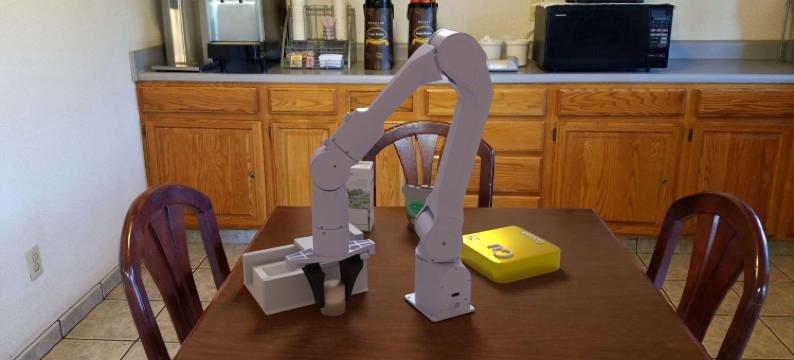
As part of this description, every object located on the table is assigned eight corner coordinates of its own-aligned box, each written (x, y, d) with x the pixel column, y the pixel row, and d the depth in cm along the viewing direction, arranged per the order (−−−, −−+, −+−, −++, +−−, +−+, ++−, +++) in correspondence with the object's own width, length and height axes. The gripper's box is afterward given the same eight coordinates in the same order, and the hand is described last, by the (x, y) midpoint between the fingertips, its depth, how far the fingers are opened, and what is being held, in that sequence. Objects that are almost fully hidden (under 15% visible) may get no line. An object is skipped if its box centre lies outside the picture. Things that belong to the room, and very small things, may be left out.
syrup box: (374, 223, 142) (373, 160, 137) (370, 232, 136) (370, 167, 132) (349, 222, 142) (347, 159, 138) (344, 231, 136) (342, 166, 132)
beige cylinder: (349, 312, 102) (348, 287, 101) (326, 318, 100) (325, 292, 99) (339, 302, 105) (338, 277, 104) (316, 307, 104) (316, 282, 102)
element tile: (564, 271, 119) (566, 247, 117) (498, 287, 112) (499, 262, 111) (514, 243, 131) (515, 222, 130) (453, 257, 125) (453, 234, 123)
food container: (394, 231, 137) (394, 187, 134) (402, 222, 142) (402, 179, 140) (450, 237, 133) (451, 192, 130) (456, 227, 139) (457, 184, 136)
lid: (369, 258, 108) (369, 237, 107) (320, 268, 104) (319, 247, 103) (340, 234, 119) (339, 215, 118) (294, 243, 115) (293, 223, 114)
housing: (367, 290, 110) (367, 259, 108) (266, 315, 101) (264, 282, 100) (337, 263, 120) (336, 235, 119) (243, 283, 112) (241, 253, 110)
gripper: (361, 208, 105) (362, 283, 109) (277, 223, 99) (281, 302, 103) (380, 221, 99) (381, 299, 103) (292, 237, 93) (296, 321, 97)
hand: (332, 302), depth 102 cm, fingers closed on beige cylinder, 4 cm apart
